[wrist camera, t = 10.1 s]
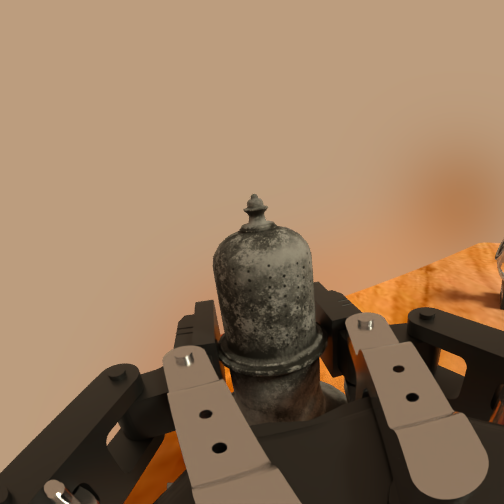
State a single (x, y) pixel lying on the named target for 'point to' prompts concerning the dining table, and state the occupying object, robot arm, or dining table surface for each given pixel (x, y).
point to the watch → (501, 257)
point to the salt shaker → (271, 323)
